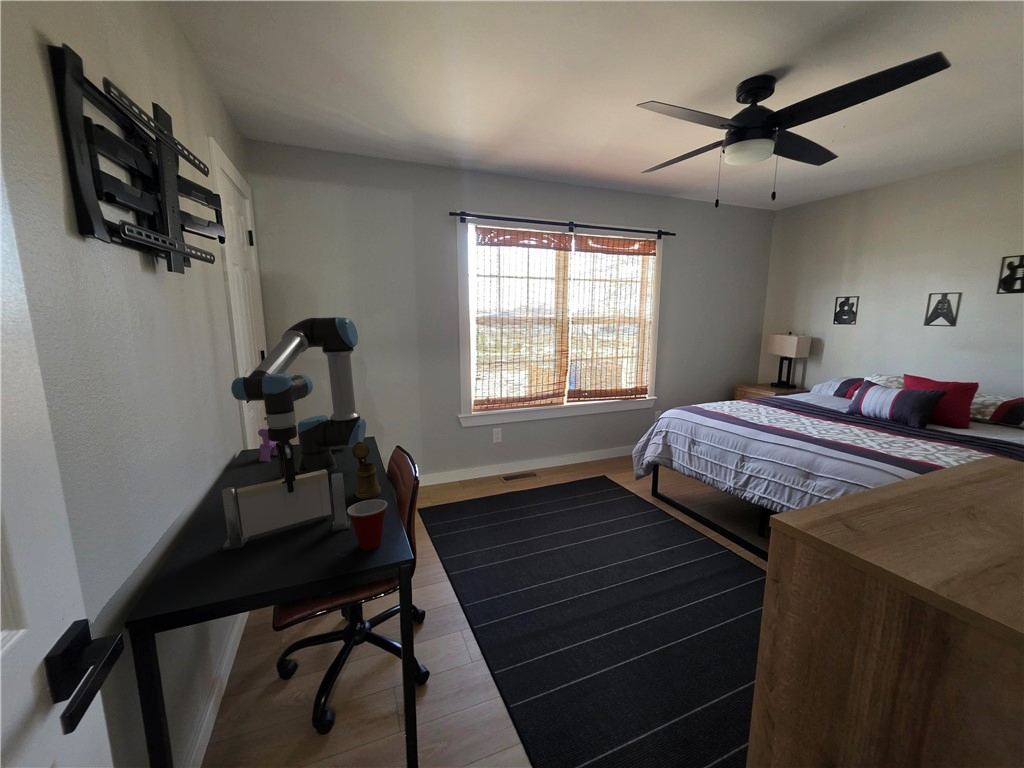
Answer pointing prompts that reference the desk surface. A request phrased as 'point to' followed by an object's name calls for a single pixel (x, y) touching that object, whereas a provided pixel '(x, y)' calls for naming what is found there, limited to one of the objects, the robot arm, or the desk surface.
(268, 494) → the gate
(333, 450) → the media streaming box
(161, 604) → the desk surface
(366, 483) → the brown disc-topped figurine
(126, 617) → the desk surface
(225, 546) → the gate frame
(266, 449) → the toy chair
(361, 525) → the plastic cup
